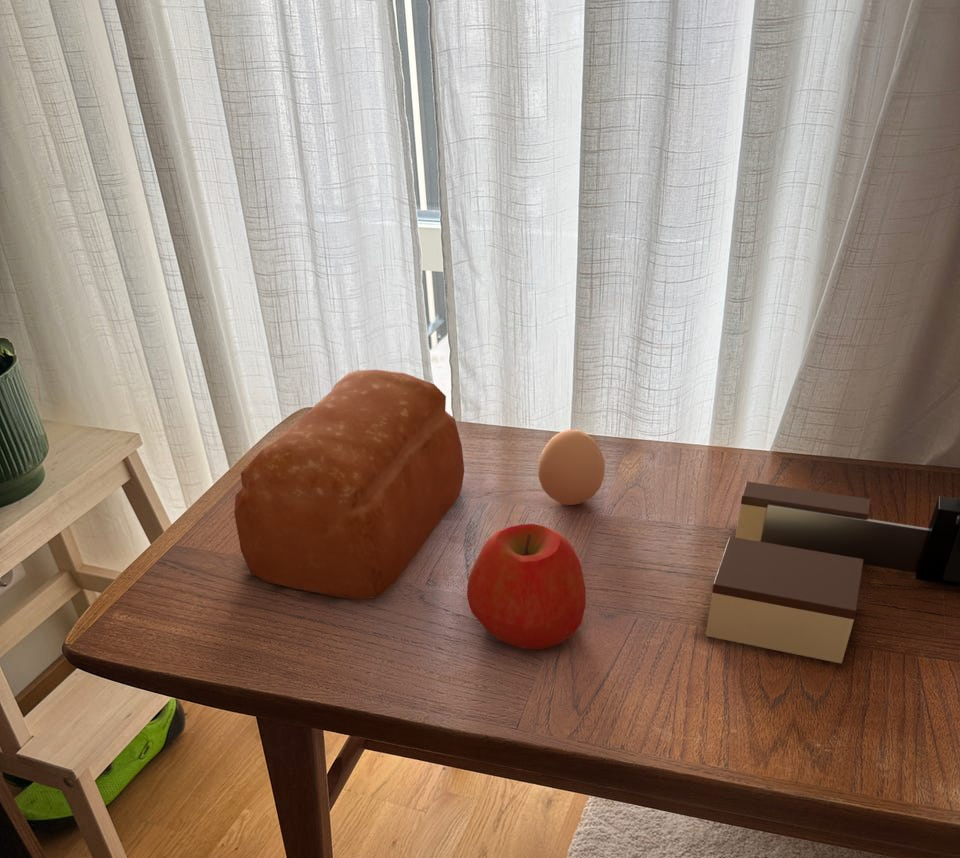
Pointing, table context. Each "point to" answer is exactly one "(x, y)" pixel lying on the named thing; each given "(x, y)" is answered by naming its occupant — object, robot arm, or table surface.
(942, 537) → the knife
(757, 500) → the cake slice
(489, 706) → the table surface
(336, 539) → the bread
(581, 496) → the egg
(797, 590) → the cake
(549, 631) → the apple
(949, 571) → the robot arm
